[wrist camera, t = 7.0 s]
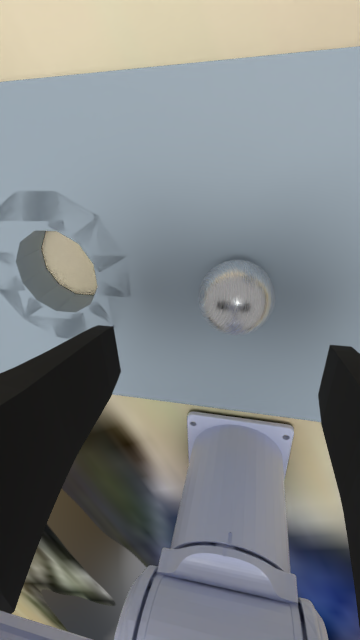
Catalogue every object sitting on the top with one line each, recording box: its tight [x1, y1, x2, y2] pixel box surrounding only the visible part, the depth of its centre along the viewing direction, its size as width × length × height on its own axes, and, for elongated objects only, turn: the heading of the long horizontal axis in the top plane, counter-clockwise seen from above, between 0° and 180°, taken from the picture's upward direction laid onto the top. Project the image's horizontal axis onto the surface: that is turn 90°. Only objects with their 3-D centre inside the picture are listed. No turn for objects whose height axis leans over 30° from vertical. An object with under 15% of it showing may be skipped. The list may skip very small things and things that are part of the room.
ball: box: [198, 260, 275, 335], centre depth 15 cm, size 4×4×4 cm
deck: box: [0, 46, 360, 422], centre depth 18 cm, size 26×18×2 cm
